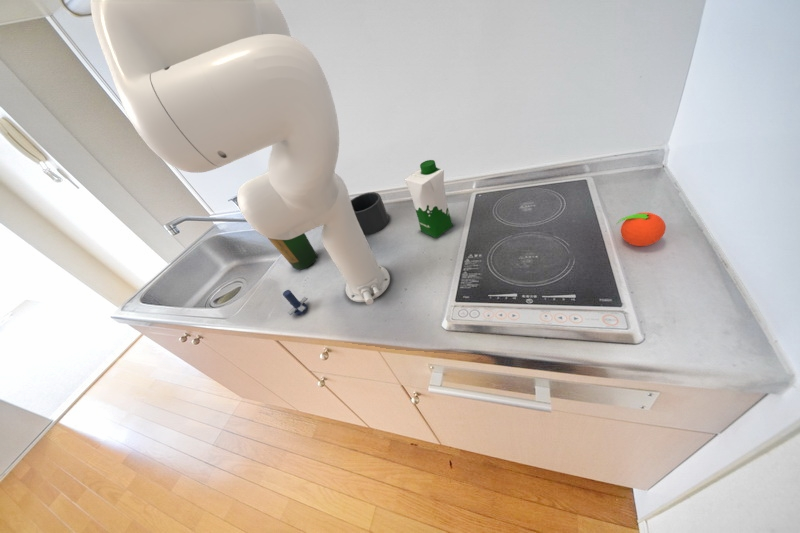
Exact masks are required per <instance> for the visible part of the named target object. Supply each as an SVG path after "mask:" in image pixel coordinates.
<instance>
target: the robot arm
mask: <svg viewBox="0 0 800 533" xmlns="http://www.w3.org/2000/svg"><path fill="white" fill-rule="evenodd" d="M89 2H90V13H91V20H92V23H93V26H94V31H95V34H96V37H97V40H98V43H99V46H100V48H101V51H102V54H103V57H104V59H105V62H106V64H107V67H108V70H109V72H110V75H111V79H112V81H113V84H114V86H115V89H116V92H117V94H118V97H119V100H120V102H121V105H122V107H123V109H124V112H125V113H126V116H127V117H128V119H129V121H130V124H132V126H133V128H134V129H135V131H136V132H137V134H138V135H139V137H140V138H141V139H142V140H143V142H144V143H145V144H146V145H147V146H148V148H149V149H150V150H151V151H152V152H153V153H155V155H157V157H159V158H160V159H161V160H163V161H164V162H165V163H166V164H168V165H170V166H171V167H172V168H173V167H174V168H175V169H177V170H180V171H182V172H187V173H197V174H199V173H207V172H210V171H213V170H216V169H219V168H221V167H224V166H226V165H229V164H231V163H234V162H235V161H238V160H240V159H243V158H245V157H247V156H249V155H252V154H254V153H257V152H259V151H261V150H263V149H267V148H268V147H271V146H272V148H271V150H270V154H269V157H268V162H267V171H266V172H264V173H262V174H260V175H257V176H255V177H252V178H251V179H248V180H246V181H245V182H244V183H242V184H241V185H240V187H239V188H238V190H237V195H236V200H237V206H238V208H239V210H240V213H241V214H242V216H243V218H244V219H245V221H246V222H247V223H248V225H249V226H250V227H251V228H252V229H253V230H254V231H256V232H257V233H258V234H259V235H261V236H263V237H265V238H267V239H268V238H270V239H278V240H289V239H292V238H295V237H297V236H299V235H301V234H303V233H308V232H311V231H312V230H313V229H316V228H319V227H322V229H321V242H322V245H323V247H324V249H325V250H326V252H327V254H328V255H329V256H330V258H331V260H332V262H333V264H334V265H335V266H336V268H337V270H338V271H339V273H340V275H341V277H342V278H343V280H344V281H345V283H346V284H345V287H344V288H345V294H346V295H347V297H348V298H349V299H350V300H351V301H353V302H356V303H365V304H366V305H367V306H370V305H373V304H374V302H375V301H374V300H375V299H376V298H379V296H381V295H382V294H383V293H385V291H386V290H387V288H388V287H389V285H390V282H391V276H390V273H389V271H388V270H387V268H385V266H381V265H379V263H378V261H377V258H376V256H375V254H374V251H373V250H372V248H371V246H370V244H369V242H368V240H367V237H366V235H364V233H363V231H362V229H361V227H360V225H359V222H358V220H357V218H356V215H355V213H354V210H353V207H352V204H351V200H352V199H351V196H350V192H349V190H348V188H347V185H346V183H345V181H344V179H343V178H342V177H341V176H340V175H339V174H338V173H336V172H335V170H336V167H337V162H338V157H339V151H340V129H339V120H338V115H337V110H336V105H335V101H334V98H333V95H332V92H331V88H330V85H329V83H328V80H327V78H326V75H325V73H324V70H323V68H322V67H321V64H320V62H319V61H318V60H317V58H316V57H315V55H314V53H313V52H312V51H311V50H310V49H309V47H307V46H306V45H305V44H304V43H303V42H301V41H300V40H298V39H296V38H294V37H292V34H291V31H290V28H289V25H288V23H287V20H286V18H285V16H284V14H283V12H282V10H281V8H280V6H279V5H278V4H277V2H276V1H275V0H90V1H89Z"/></svg>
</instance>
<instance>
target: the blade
mask: <svg viewBox="0 0 800 533" xmlns="http://www.w3.org/2000/svg"><path fill="white" fill-rule="evenodd" d="M282 296H283V297H284V298H285V299H286V300H287V302H288V303H289V305H291V306H292V308H291V309H290V310H289V311H287V314H288V315H290V316H292V315H293V314H295V316H302V315H304V314H305V313H306V312H307V311H308V309H309V307H308V305H307V304H306V303H305V302H306V301H307V300H308V297H306V296H304V297H302V298H301V299H300V300H299V299H298V298H297V296H296V295H295V294H294V293H293V292H292V291H291V290H290V289H286V290H285V291H283V292H282Z"/></svg>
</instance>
